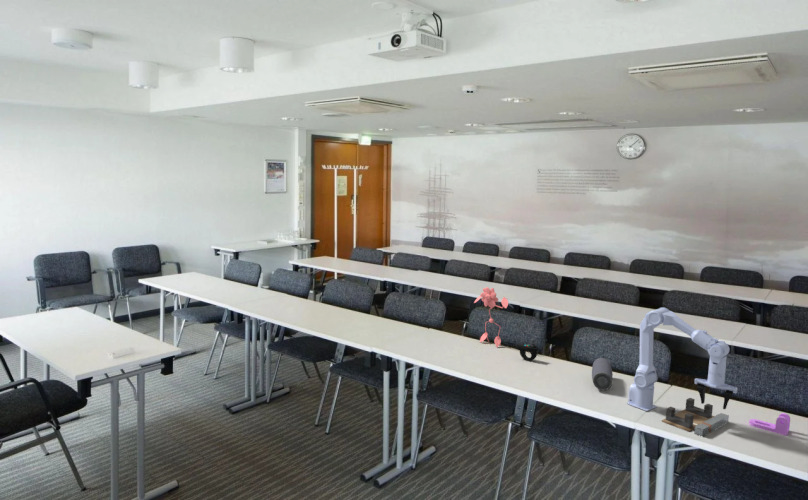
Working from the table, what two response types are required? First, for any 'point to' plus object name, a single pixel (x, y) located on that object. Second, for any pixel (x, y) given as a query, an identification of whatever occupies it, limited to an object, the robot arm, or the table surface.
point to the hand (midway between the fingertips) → (713, 405)
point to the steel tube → (711, 424)
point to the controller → (531, 349)
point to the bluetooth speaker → (602, 374)
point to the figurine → (490, 300)
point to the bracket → (779, 427)
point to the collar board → (682, 414)
